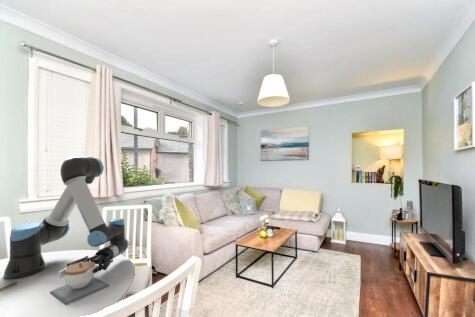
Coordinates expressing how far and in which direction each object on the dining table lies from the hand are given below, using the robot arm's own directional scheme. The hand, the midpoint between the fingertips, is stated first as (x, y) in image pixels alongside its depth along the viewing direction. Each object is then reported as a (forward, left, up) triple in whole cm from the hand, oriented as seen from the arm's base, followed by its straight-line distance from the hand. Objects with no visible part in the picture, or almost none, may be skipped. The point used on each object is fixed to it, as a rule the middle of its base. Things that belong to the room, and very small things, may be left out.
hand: (73, 275), depth 93 cm
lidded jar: (-2, +4, -6) cm, 8 cm away
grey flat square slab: (-2, +4, -8) cm, 9 cm away
